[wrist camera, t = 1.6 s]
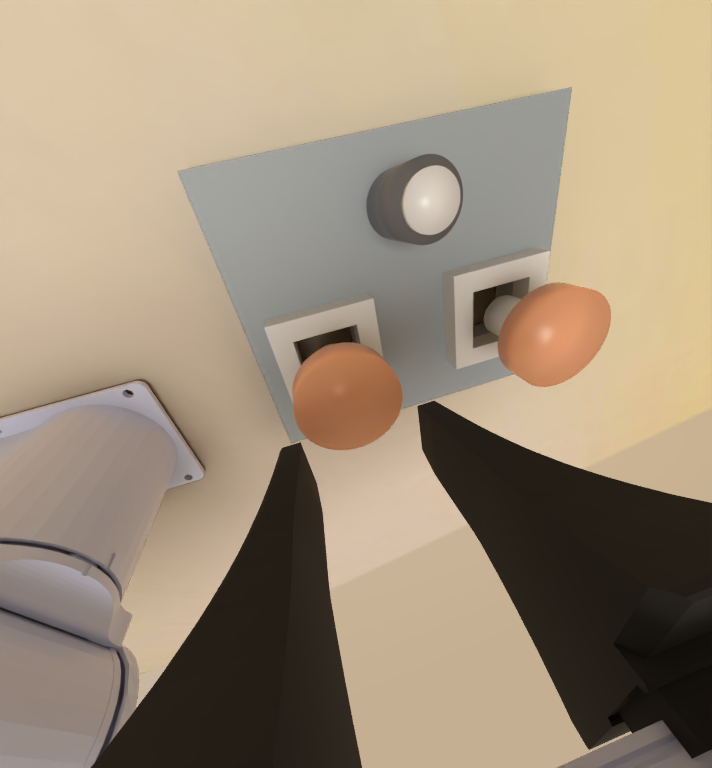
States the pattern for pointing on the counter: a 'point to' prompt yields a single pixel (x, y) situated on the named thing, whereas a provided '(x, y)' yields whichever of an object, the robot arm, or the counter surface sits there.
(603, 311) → the knob
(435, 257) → the mount board
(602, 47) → the counter surface
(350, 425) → the knob
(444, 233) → the white domed button
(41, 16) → the counter surface
